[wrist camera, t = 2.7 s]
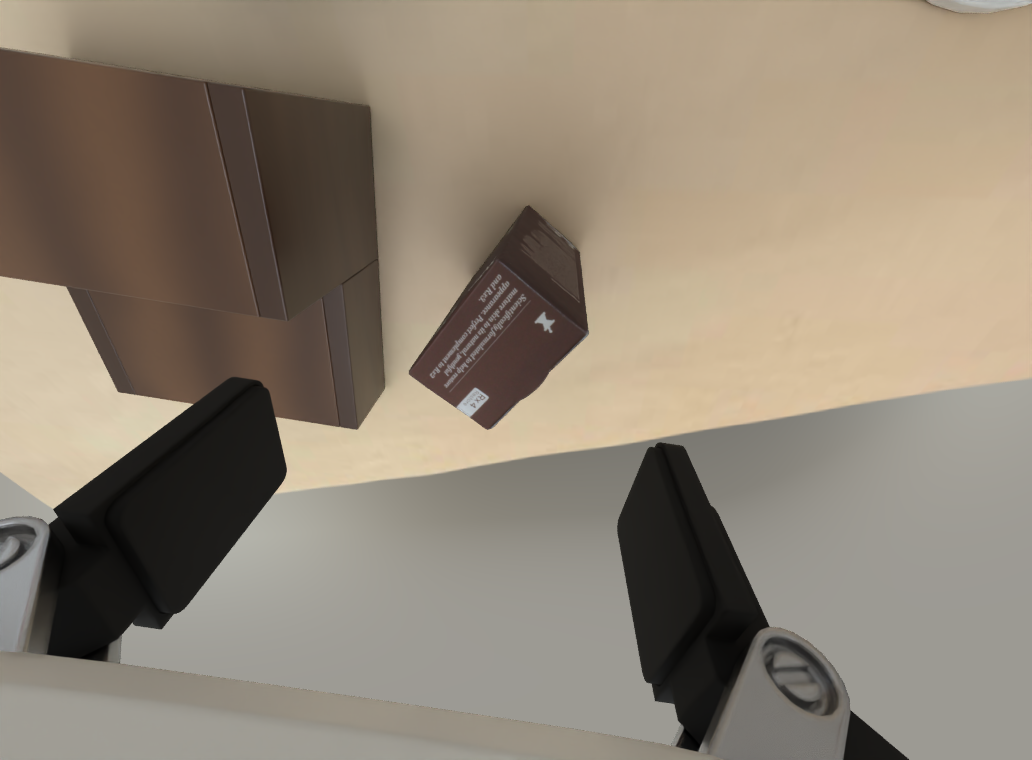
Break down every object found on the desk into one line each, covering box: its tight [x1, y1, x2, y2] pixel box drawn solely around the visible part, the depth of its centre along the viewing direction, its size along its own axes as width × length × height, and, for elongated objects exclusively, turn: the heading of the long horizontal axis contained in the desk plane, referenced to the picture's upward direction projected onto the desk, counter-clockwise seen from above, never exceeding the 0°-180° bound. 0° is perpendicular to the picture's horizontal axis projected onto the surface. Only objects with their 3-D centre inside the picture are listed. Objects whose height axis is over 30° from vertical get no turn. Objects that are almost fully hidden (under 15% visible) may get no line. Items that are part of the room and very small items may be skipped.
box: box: [409, 205, 589, 430], centre depth 19 cm, size 6×4×12 cm
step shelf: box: [0, 47, 385, 430], centre depth 21 cm, size 16×18×10 cm
